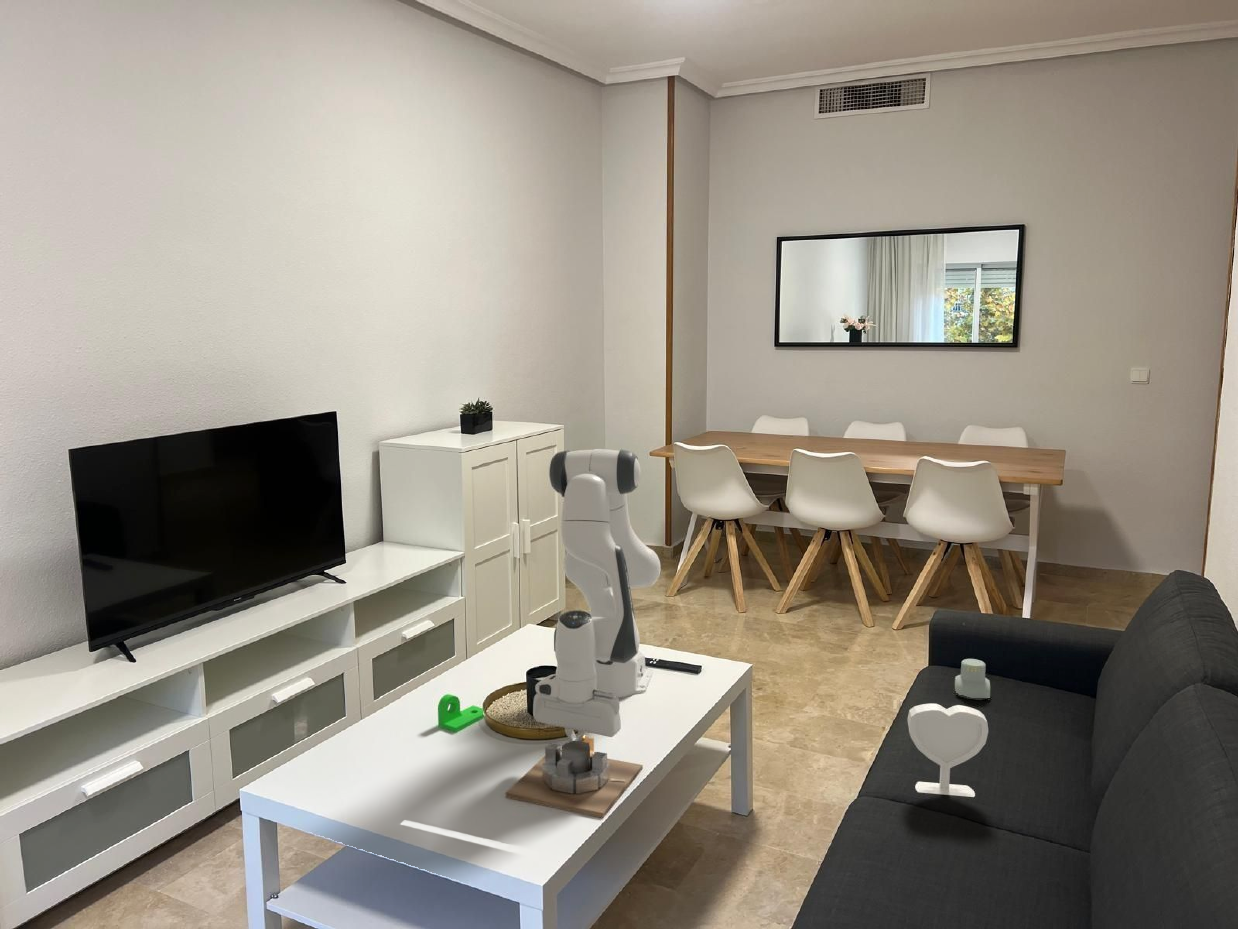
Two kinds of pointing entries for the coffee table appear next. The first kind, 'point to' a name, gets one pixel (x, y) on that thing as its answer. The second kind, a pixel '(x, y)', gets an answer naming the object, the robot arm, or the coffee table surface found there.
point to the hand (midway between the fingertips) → (576, 747)
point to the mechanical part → (456, 714)
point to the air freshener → (972, 680)
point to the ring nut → (561, 770)
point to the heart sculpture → (947, 741)
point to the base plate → (586, 802)
